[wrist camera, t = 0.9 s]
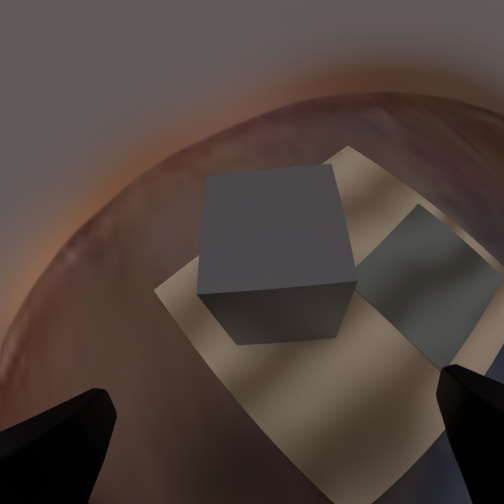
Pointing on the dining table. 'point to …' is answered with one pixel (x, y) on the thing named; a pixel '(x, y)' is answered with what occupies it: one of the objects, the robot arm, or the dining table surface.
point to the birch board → (364, 341)
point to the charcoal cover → (275, 255)
